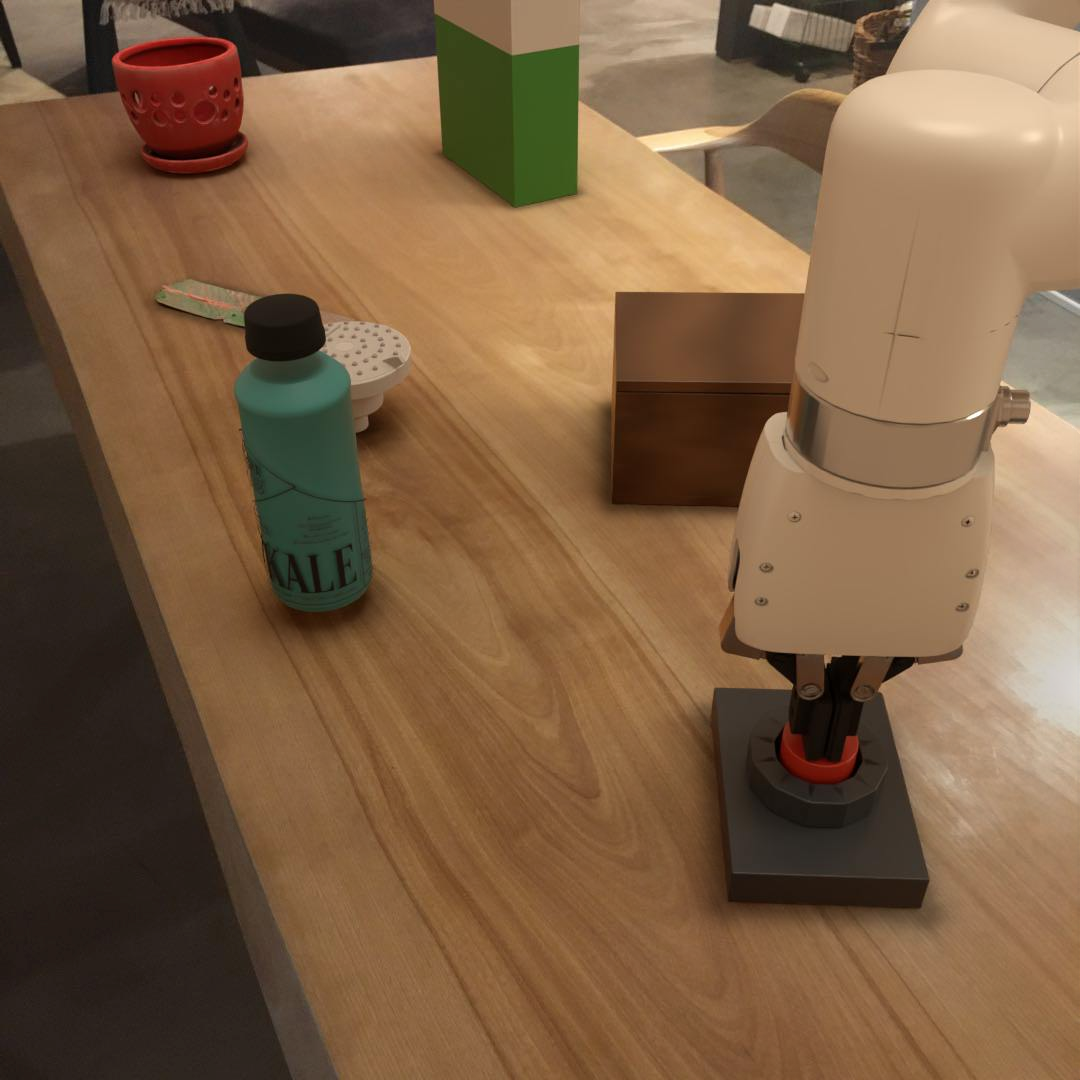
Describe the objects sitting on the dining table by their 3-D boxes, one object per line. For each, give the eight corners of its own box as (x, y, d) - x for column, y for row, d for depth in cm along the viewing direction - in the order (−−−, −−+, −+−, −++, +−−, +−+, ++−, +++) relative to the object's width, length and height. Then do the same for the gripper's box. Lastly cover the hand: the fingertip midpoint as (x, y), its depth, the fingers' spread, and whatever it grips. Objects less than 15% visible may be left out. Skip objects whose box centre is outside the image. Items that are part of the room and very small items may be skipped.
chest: (816, 410, 90) (833, 305, 84) (842, 508, 80) (863, 396, 74) (611, 406, 90) (615, 302, 85) (611, 503, 80) (615, 392, 75)
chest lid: (847, 303, 84) (849, 293, 84) (879, 394, 74) (881, 383, 74) (615, 301, 85) (615, 291, 84) (615, 391, 75) (616, 380, 75)
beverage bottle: (342, 552, 76) (302, 265, 64) (399, 604, 72) (369, 308, 60) (252, 594, 73) (192, 300, 61) (307, 651, 69) (255, 348, 57)
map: (182, 284, 109) (179, 274, 108) (365, 320, 101) (364, 310, 100) (144, 306, 105) (141, 296, 105) (331, 346, 97) (329, 336, 97)
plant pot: (270, 142, 137) (253, 33, 129) (230, 185, 127) (210, 69, 119) (163, 137, 138) (141, 30, 131) (115, 179, 128) (88, 65, 121)
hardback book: (442, 153, 133) (429, -82, 119) (500, 142, 136) (494, -90, 121) (514, 207, 121) (509, -49, 106) (577, 193, 124) (580, -58, 109)
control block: (710, 715, 65) (716, 662, 62) (875, 720, 65) (888, 667, 62) (727, 901, 55) (735, 848, 53) (921, 908, 55) (938, 855, 53)
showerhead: (361, 387, 79) (248, 350, 83) (372, 476, 83) (264, 437, 87) (442, 329, 85) (333, 298, 89) (447, 415, 90) (343, 381, 94)
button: (774, 734, 60) (779, 710, 58) (846, 736, 59) (852, 712, 58) (783, 789, 57) (787, 765, 56) (858, 792, 57) (864, 767, 55)
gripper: (1053, 370, 48) (956, 689, 60) (687, 362, 49) (660, 679, 60) (1115, 474, 42) (995, 806, 54) (698, 464, 43) (666, 795, 54)
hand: (818, 738), depth 57 cm, fingers closed
